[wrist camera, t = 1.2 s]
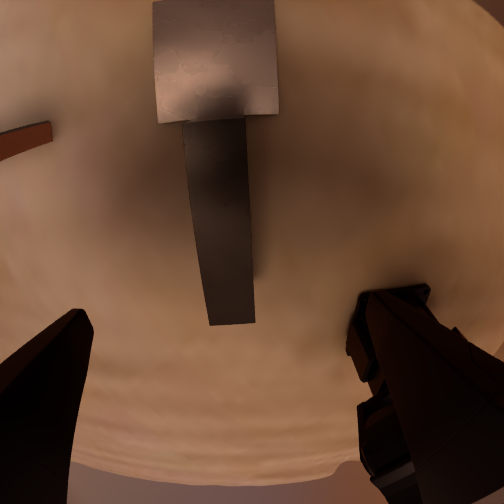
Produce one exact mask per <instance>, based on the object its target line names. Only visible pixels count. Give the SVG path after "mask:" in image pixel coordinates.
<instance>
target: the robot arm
mask: <svg viewBox="0 0 504 504" xmlns="http://www.w3.org/2000/svg"><path fill="white" fill-rule="evenodd" d="M430 291H431V288H430V287H429V286H428V285H427V284H422V285H416V286H409V287H403V288H396V289H389V290H376V291H372V292H366V293H363V294H361V295H360V296H359V298H358V302H357V306H356V311H355V315H354V319H353V320H352V321H351V324H350V328H349V333H348V337H347V341H346V345H347V347H346V353H347V355H348V356H351V358H352V360H353V363H354V365H355V368H356V370H357V373H358V376H359V378H360V380H361V381H362V382H363V383H364V382H368V384H369V387H370V389H371V392H372V395H373V397H371V398H370V399H368V400H367V401H365V402H362V403H360V404H359V405H357V417H358V432H359V451H360V460H361V462H362V463H363V466H364V467H365V469H366V471H367V472H368V473H369V475H370V476H371V477H370V481H371V482H372V483H373V484H374V485H375V486H376V487H377V488H378V489H379V490H380V491H381V493H382V494H383V495H384V496H385V498H386V500H387V502H388V503H389V504H504V362H503V361H501V360H499V359H497V358H495V357H494V356H492V355H490V354H488V353H487V352H485V351H484V350H482V349H480V348H479V347H477V346H475V345H474V344H472V343H471V342H468V340H467V339H466V338H465V337H464V336H463V335H462V333H461V332H460V331H459V330H458V329H457V328H456V326H455V327H454V328H453V329H452V330H450V329H448V328H447V327H445V326H443V325H442V324H440V323H439V322H438V321H437V319H436V318H435V316H434V315H433V314H432V312H431V311H430V310H429V308H428V307H427V306H426V302H427V300H428V297H429V294H430ZM365 299H366V300H365ZM364 300H365V301H364ZM93 336H94V330H93V326H92V324H91V322H90V320H89V318H88V316H87V314H86V312H85V310H84V309H71V310H70V311H69V312H67V313H66V314H64V315H63V316H62V317H60V318H59V319H58V320H56V321H55V322H54V323H52V324H51V325H49V326H48V327H47V328H45V329H44V330H43V331H41V332H40V333H39V334H38V335H36V336H35V337H34V338H32V339H31V340H30V341H28V342H27V343H26V344H25V345H23V346H22V347H21V348H19V349H18V350H17V351H16V352H14V353H13V354H12V355H11V356H9V357H8V358H7V359H6V360H4V361H3V362H2V363H1V364H0V504H67V490H68V477H69V467H70V460H71V452H72V445H73V439H74V433H75V427H76V422H77V417H78V411H79V407H80V402H81V397H82V393H83V389H84V384H85V380H86V376H87V371H88V365H89V358H90V352H91V347H92V341H93Z"/></svg>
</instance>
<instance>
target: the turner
mask: <svg viewBox="0 0 504 504" xmlns="http://www.w3.org/2000/svg"><path fill="white" fill-rule="evenodd" d="M153 53H154V74H155V90H156V103H157V115H158V124H161V123H168V122H175V121H183V120H190V121H187V122H184V123H182V132H183V142H184V152H185V162H186V171H187V180H188V188H189V196H190V204H191V212H192V219H193V227H194V234H195V241H196V247H197V254H198V260H199V267H200V273H201V279H202V285H203V291H204V297H205V302H206V308H207V313H208V319H209V324H210V326H214V325H232V324H247V323H255V305H254V285H253V265H252V245H251V224H250V204H249V184H248V163H247V143H246V123H245V117H244V116H243V115H257V114H279V99H278V74H277V52H276V34H275V17H274V2H273V0H162V1H157V2H153ZM191 119H193V120H191Z"/></svg>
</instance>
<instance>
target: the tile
mask: <svg viewBox="0 0 504 504" xmlns="http://www.w3.org/2000/svg"><path fill="white" fill-rule="evenodd" d="M52 141H53V139H52V132H51V124H50V123H48V121H44V122H39V123H35V124H31V125H27V126H23V127H19V128H15V129H12V130H8V131H5V132H1V133H0V161H2V160H4V159H7V158H9V157H12V156H14V155H16V154H19V153H21V152H24V151H27V150H29V149H32V148H35V147H37V146H40V145H43V144H46V143H49V142H52Z"/></svg>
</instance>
